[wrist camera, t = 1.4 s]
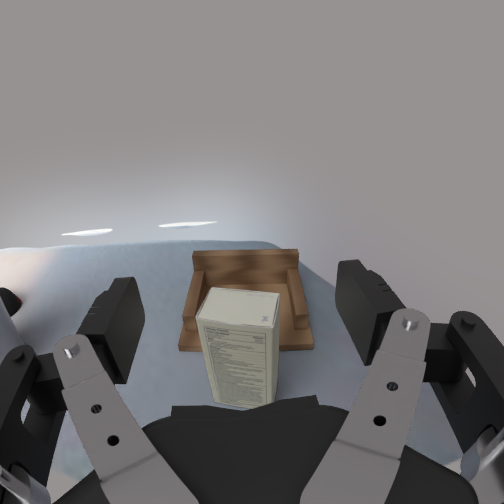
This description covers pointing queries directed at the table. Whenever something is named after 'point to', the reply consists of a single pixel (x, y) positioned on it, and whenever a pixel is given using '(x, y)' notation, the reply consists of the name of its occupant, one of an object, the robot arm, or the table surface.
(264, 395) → the skincare box
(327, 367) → the table surface
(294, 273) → the tray
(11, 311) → the computer mouse
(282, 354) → the table surface
